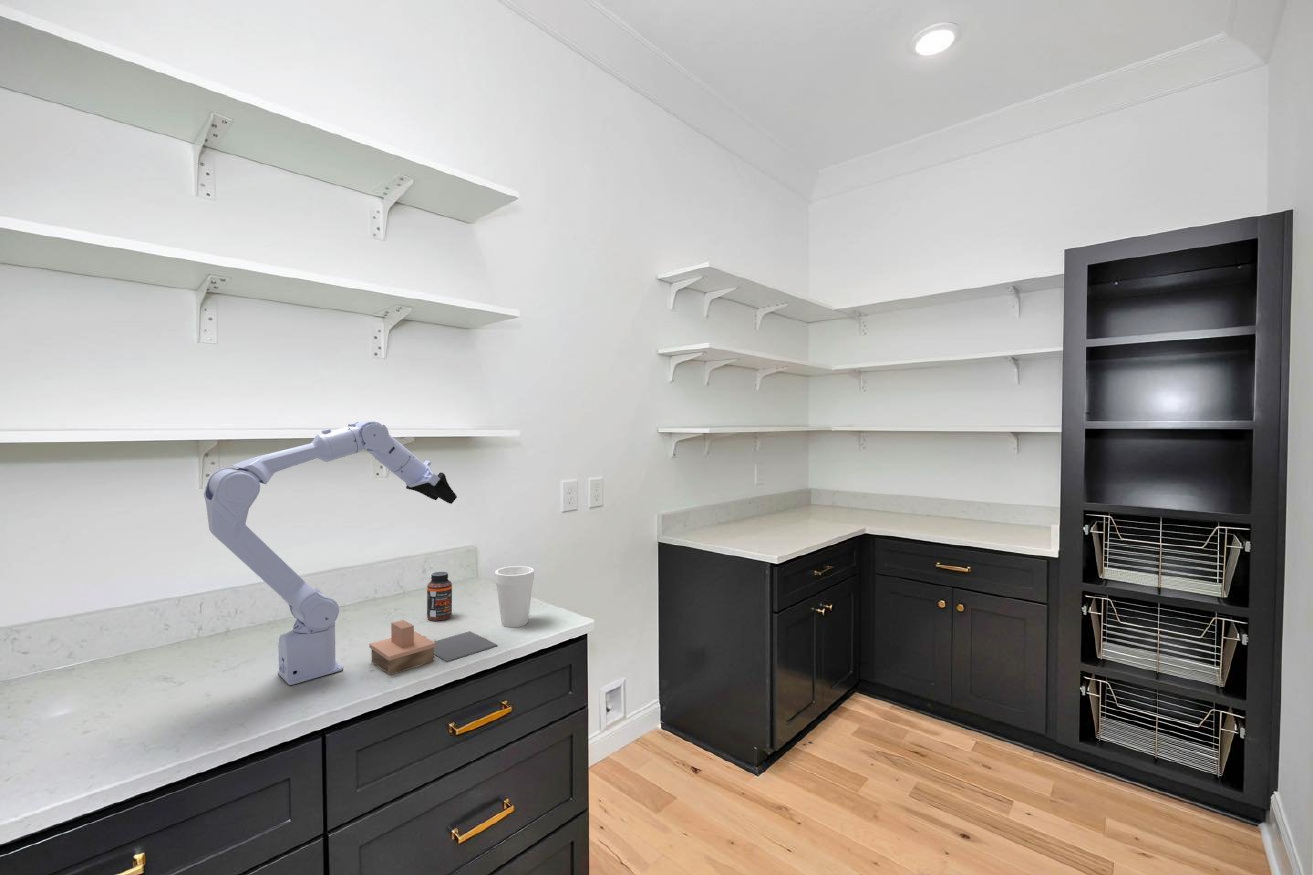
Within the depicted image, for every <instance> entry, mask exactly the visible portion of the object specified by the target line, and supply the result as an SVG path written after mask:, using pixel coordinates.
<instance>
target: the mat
mask: <svg viewBox="0 0 1313 875" xmlns="http://www.w3.org/2000/svg"><path fill="white" fill-rule="evenodd" d="M433 642H435V643H436V647H434V657H437V658H438V659H440V660H441V661H444V662H445V663H449V662H451V661H455V660H458V659H459V660H460V659H461V658H464V657H467V656H470V655H473V654H478V653H480V652H484V651H487V650H490V649H492V648H493V649H494V648H496V647H498V644H497V643H495V642H493V641H491V640H489V639H487V638H485V637H482V636H480V635H479V634H477V633H475V632H473V631H471V630H470V631H467V632H466V631H465V632H462V633H459V634H456V635H452V636H449V637H445V638H441V639H438V640H437V639H436V640H435V641H433Z"/></svg>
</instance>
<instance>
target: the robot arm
mask: <svg viewBox="0 0 1313 875" xmlns="http://www.w3.org/2000/svg"><path fill="white" fill-rule="evenodd" d="M362 450H366V452H367V453H369V455H371V456H372V457H373V458H374V459H375V460H376V461H378V462H379V463H380V464H382V465H383V466H384V467H385V468H386V469H388V470H389V471H390V472H391V473H392V474H394V475H395V476H396V477H398V478H399V479H400V480H401V481H402V482H404V483H405V485H406V486H405V489H407V490H411V491H415V492H418V493H419V494H422V495H423V496H425V497H428V498H429V499H431V500H435V501H438V499H440V500H442V501H443V502H445V503H447V504H449V505H452V504H453V503H454V502H455V500H457V498H458V496H457V494H456V493H455V492H454V490H453V489H452V487H451V486H450V484H449V483H448V480H447V477H446V475H445V473H444V472H439V473H438V474H435V473H434V472H433V471H432V469H431V468H430V466H431V464H432V462H431V461H430V460H425V461H424V462H423V461H422V460H421V459H420V458H419V457H417V456H416V455H415V454H414V453H412V452H411V451H410V450H409V449H408V448H406V447H405V446H404V444H402V443H401V442H399V440H397V439H396V438H394V437H393V436H392V435H391V434H390V433H389V429H388V427H387V426H386V425H385V424H381V423H380V422H378V421H356V422H350V423H348V424H347V426H345V427H340V428H337V429H334V430H331V429H330V428H326V429H322V430H321V433H319V434H316V435H315V437H314V438H313V440H312V441H311V442H310V443H305V444H303V445H299V446H294V447H291V448H288V449H283V450H278V451H275V452H270V453H267V454H262V455H258V456H255V457H251V458H248V459H245V460H242V461H239V462H237V463H234V464H233V465H231V466H232V467H223V468H220V469H218V470H216V471H214V472H213V473H212V474H211V475H210V477H209V478H208V479H207V480H208V481H207V483H206V486H205V490H204V493H203V497H204V501H205V505H206V513H207V514H206V515H207V520H208V522H207V523H208V524H207V525H208V528H209V531H210V533H211V534H212V535H213V536H214V537H215V538H216V539H217V540H218V541H219V542H220V543H222V544H223V545H224V546H225V547H226V548H227V549H228V550H229V551H231V553H233V554H234V556H236V557H237V558H238V559H239V560H240V561H241V562H242V563H244V564H245V565H246V566H247V567H248V568H249V569H250V570H251V571H252V572H253V573H254V574H255V575H257V576H258V577H259V578H260V579H261V580H262V581H264V582H265V584H266V585H268V586H269V587H270V588H271V589H272V591H274V592H276V594H277V595H279V596H280V598H281V599H282V600H284V602H285V603H286V604H287V605H288V606H289V611H290V614H291V615H292V616H293V617H294V618H295V619H296V620H295V622H294V624H293V625H292V626H293V627H292V628H293V629H292V630H291V631H288V632H286V633H282V634H280V635H279V638H278V671H277V674H278V675H279V676H280V677H281V678H282V679H283V680H284V681H285V682H286V684H288V685H289V686H292V685H296V684H299V683H300V684H301V683H302V682H305V681H310V680H313V679H317V678H321V677H323V676H324V677H325V676H326V675H327V676H328V675H331V674H333V673H334V674H335V673H337V672H341V671H343V670H344V667H343V666H342V665H341V664H339V663H338V662H337V660H336V658H337V656H336V621H337V619H338V617H339V614H340V608H339V605H338V603H337V601H336V600H334V599H333V598H331V597H328V596H327V595H325V594H323V593H322V592H321V591H320V590H318V589H315V588H313V587H312V586H311V584H310V585H309V584H308V583H307V582H306V581H305V580H304V579H303V578H302V577H301V576H300V575H299V574H298V573H297V572H296V571H295V570H294V569H293V568H292V567H290V566H289V565H288V563H286V562H285V561H284V560H283V559H282V558H281V557H280V556H279V555H278V554H276V552H275V551H274V550H273V549H271V547H270V546H268V545H267V544H266V543H265V542H264V541H263V540H262V538H260V537H259V536H258V535H257V534H256V533H255V532H253V531H252V530H251V528H249V527H248V526H247V524H246V523H247V519H248V516H249V510H250V509H251V507H252V505H253V504H254V503H255V501H256V500H257V497H258V496H259V494H260V491H261V484H263V485H267V484H268V482H269V481H270V480H271V478H272V477H273V476H274V474H276V473H277V472H280V471H284V470H286V469H289V468H291V467H294V466H298V465H301V464H304V463H307V462H311V461H313V460H317V459H318V460H321V461H322V462H325V463H328V462H331V461H336V460H338V459H341V458H345V457H348V456H352V455H355V454H357V453H359V452H361V451H362ZM234 467H236V468H234Z"/></svg>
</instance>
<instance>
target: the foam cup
mask: <svg viewBox="0 0 1313 875" xmlns="http://www.w3.org/2000/svg"><path fill="white" fill-rule="evenodd" d="M534 580H535V569H534V568H533V567H531V566H524V565H514V566H513V565H512V566H505V567H501V568H497V569H496V570H494V583H495V584H496V591H497V599H498V600H497V601H498V608H499V614H500V622H501V625H502V626H503V627H505V628H518V627H519V628H520V627H522V626H525V624H526V623H527V622H528V620H529V614H530V607H531V600H532V593H533V584H534ZM528 623H529V622H528ZM528 623H527V624H528Z"/></svg>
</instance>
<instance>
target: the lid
mask: <svg viewBox="0 0 1313 875" xmlns="http://www.w3.org/2000/svg"><path fill="white" fill-rule="evenodd" d="M390 627H391V628H390V629H391V630H390V632H391V637H389V638H385V639H382V640H379V641H373V642H370V643H369V649H371V651H372V650H374V651H375V652H377V653H378V654H380V655H381V656H383V657H384V658H386V659H387V660H388V661H389V660H393V659H396V658H400V657H403V656H406V655H410V654H413V653H417V652H420V651H423V650H427V649H430V648H433V647H436V643H435V642H434V641H433V640H431V639H429V638H428V637H426V636H424V635H422V634H421V633H418V632H417V631H415V625H414V624H411V623H410V622H408V621H406V620H404V619H400V620H398V621H394V622H391V624H390Z"/></svg>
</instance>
